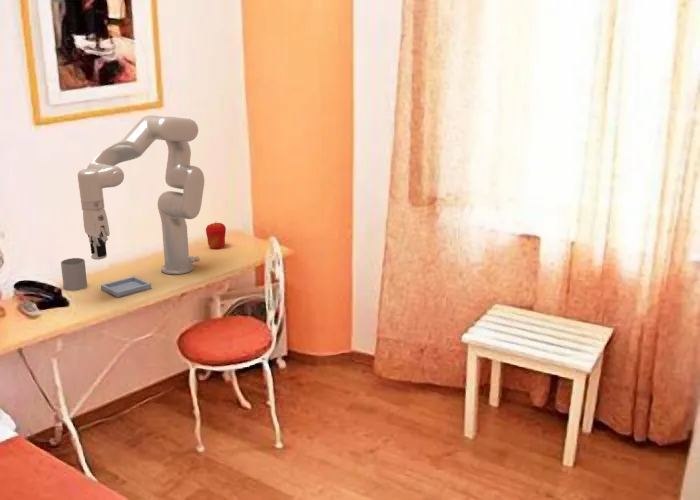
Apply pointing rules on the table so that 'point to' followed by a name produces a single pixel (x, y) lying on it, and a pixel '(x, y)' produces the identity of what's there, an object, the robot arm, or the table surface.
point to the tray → (126, 287)
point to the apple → (216, 235)
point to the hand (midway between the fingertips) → (99, 254)
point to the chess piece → (96, 250)
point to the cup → (74, 274)
